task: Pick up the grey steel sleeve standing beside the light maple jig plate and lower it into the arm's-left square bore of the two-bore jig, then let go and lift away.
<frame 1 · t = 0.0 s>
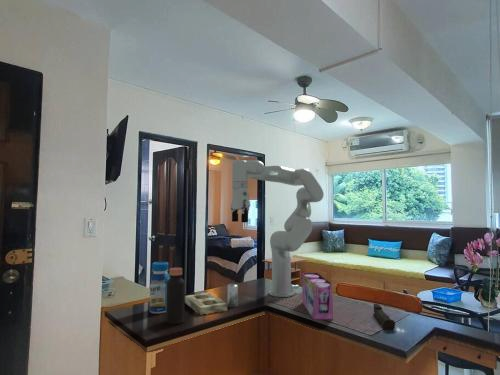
hand: (239, 221, 151), 37 cm above the counter, tool pointing down, fingers open, 9 cm apart
steel sleeve: (232, 305, 141), on the counter
beverage bottle: (159, 311, 134), on the counter
hand tool: (380, 322, 122), on the counter
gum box: (316, 311, 135), on the counter
jig plate: (205, 306, 140), on the counter
vinegar: (175, 322, 121), on the counter
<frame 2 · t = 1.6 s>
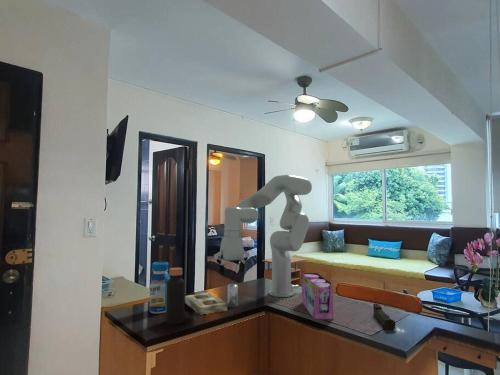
hand: (231, 273, 142), 14 cm above the counter, tool pointing down, fingers open, 9 cm apart
nothing on the counter moved.
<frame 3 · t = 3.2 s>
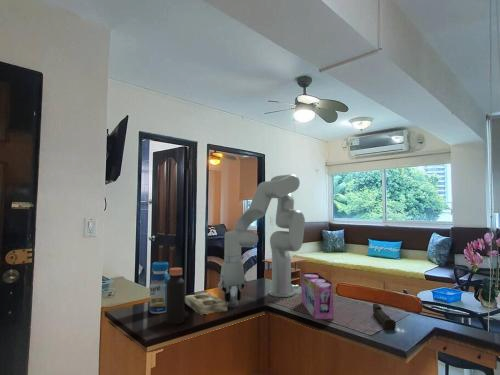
hand: (232, 300, 141), 2 cm above the counter, tool pointing down, fingers closed on steel sleeve, 4 cm apart
steel sleeve: (232, 305, 141), on the counter, touching gripper
everything else where it was.
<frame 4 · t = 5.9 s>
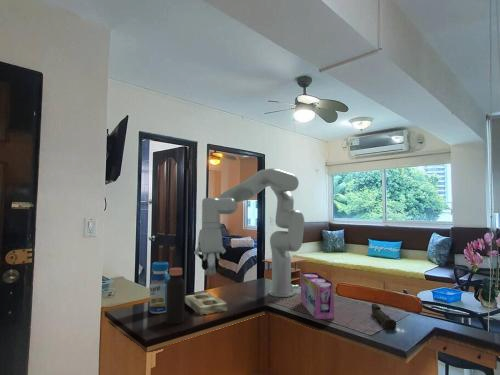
hand: (210, 268, 137), 17 cm above the counter, tool pointing down, fingers closed on steel sleeve, 4 cm apart
steel sleeve: (210, 274, 137), point 15 cm above the counter, touching gripper
everything else where it was.
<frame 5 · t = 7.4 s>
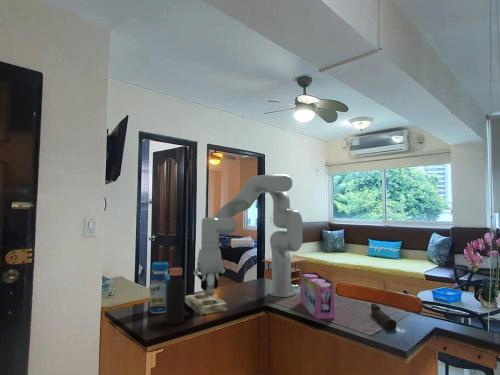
hand: (209, 288, 136), 9 cm above the counter, tool pointing down, fingers closed on steel sleeve, 4 cm apart
steel sleeve: (209, 294, 136), point 6 cm above the counter, touching gripper
everything else where it was.
when the fingers open (4 cm above the counter, at t = 8.6 s): steel sleeve drops 2 cm, resting in jig plate.
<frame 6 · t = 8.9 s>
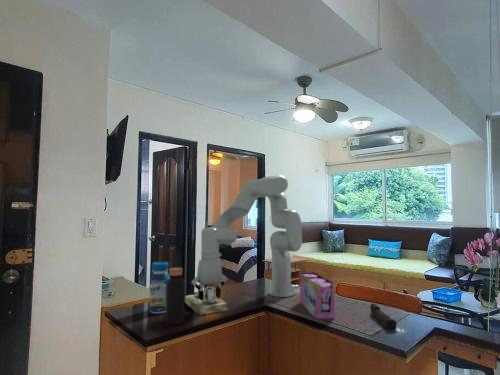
hand: (209, 298, 136), 5 cm above the counter, tool pointing down, fingers open, 7 cm apart
steel sleeve: (209, 309, 136), resting in jig plate
everything else where it was.
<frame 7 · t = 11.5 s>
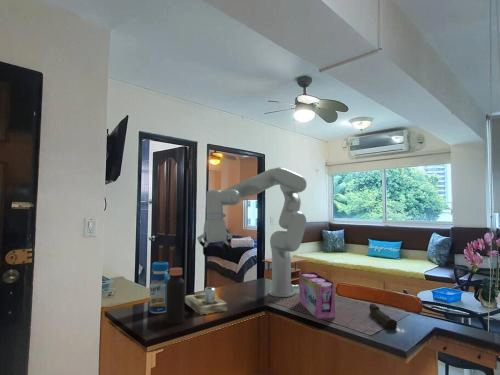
hand: (215, 254, 145), 22 cm above the counter, tool pointing down, fingers open, 9 cm apart
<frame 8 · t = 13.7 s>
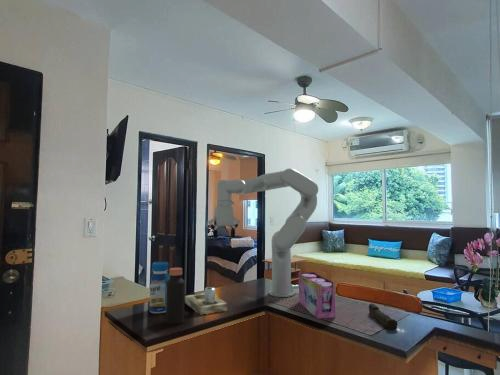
hand: (224, 237, 163), 28 cm above the counter, tool pointing down, fingers open, 9 cm apart
at the end: steel sleeve 0.1 cm from the target spot on the jig plate, point 0.0 cm above the jig plate's base; steel sleeve tilted 0°; the gripper is holding nothing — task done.
